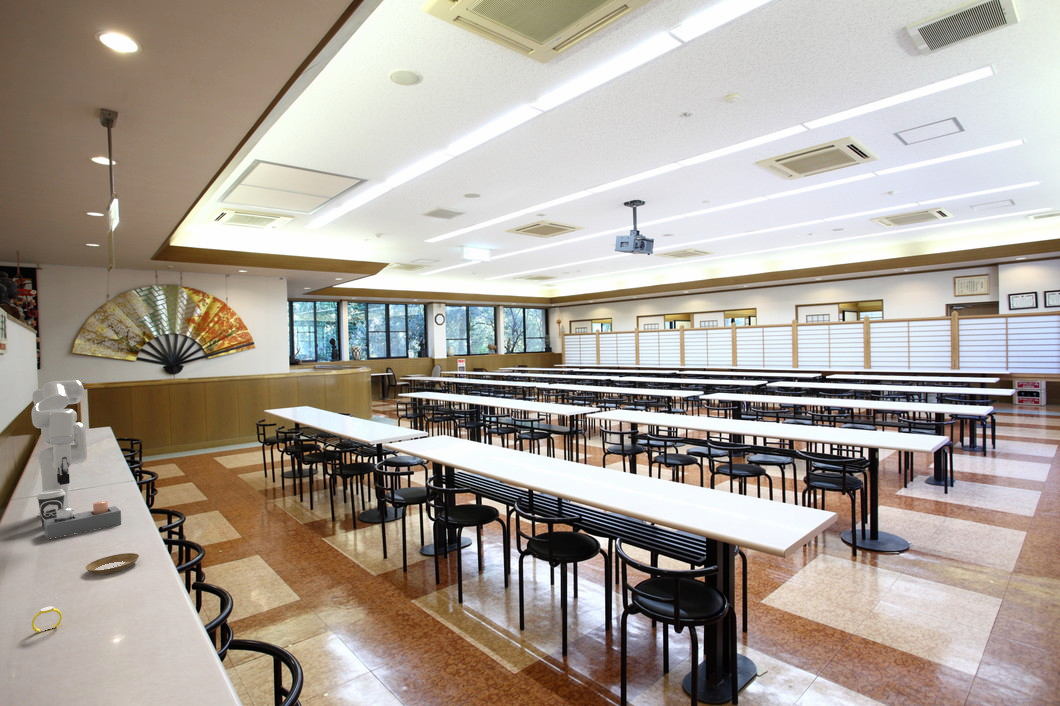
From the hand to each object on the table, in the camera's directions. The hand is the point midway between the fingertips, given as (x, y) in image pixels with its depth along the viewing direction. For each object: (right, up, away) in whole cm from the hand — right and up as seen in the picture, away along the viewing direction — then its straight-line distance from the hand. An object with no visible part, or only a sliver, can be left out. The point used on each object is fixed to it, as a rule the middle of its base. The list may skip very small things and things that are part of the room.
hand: (63, 482), depth 221 cm
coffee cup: (-15, -22, +11) cm, 29 cm away
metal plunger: (0, -17, 0) cm, 17 cm away
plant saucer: (+51, -21, -38) cm, 67 cm away
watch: (+66, -21, -79) cm, 105 cm away
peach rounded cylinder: (+8, -17, +9) cm, 21 cm away
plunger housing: (+5, -21, +5) cm, 22 cm away
